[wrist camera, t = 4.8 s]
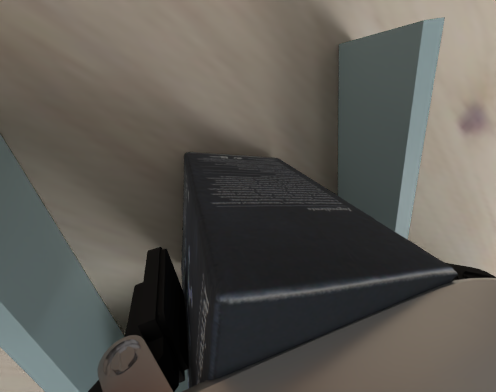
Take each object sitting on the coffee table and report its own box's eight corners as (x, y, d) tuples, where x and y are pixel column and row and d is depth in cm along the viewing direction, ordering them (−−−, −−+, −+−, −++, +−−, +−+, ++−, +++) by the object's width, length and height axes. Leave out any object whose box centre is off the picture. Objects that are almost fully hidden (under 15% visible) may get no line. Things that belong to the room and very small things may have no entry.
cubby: (354, 41, 13) (444, 17, 9) (347, 268, 21) (394, 315, 16) (-49, 106, 10) (-229, 118, 5) (118, 356, 17) (101, 447, 13)
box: (181, 150, 13) (214, 301, 3) (278, 156, 15) (472, 266, 5) (179, 270, 16) (192, 533, 6) (260, 263, 17) (365, 459, 8)
